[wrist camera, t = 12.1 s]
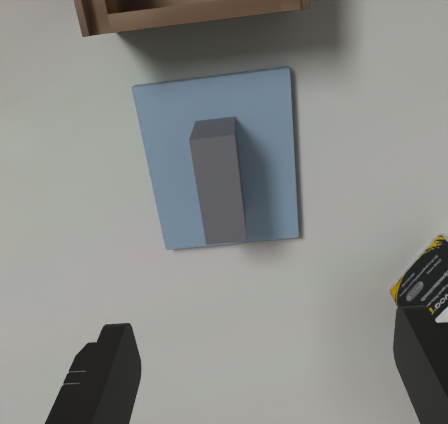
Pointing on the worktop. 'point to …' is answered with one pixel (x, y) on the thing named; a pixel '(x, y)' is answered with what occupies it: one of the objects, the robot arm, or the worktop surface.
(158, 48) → the worktop surface
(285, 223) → the cover plate
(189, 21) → the wooden box
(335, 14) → the worktop surface
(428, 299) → the medicine bottle
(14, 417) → the worktop surface
